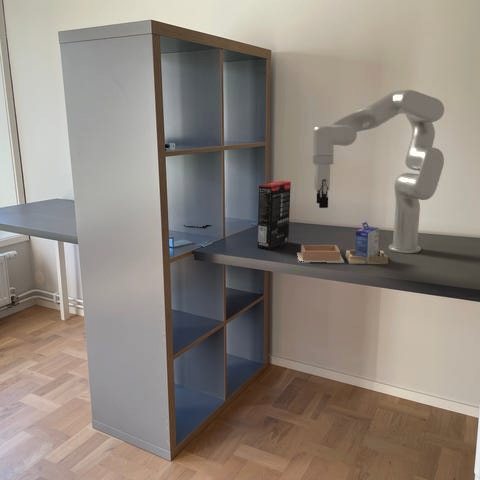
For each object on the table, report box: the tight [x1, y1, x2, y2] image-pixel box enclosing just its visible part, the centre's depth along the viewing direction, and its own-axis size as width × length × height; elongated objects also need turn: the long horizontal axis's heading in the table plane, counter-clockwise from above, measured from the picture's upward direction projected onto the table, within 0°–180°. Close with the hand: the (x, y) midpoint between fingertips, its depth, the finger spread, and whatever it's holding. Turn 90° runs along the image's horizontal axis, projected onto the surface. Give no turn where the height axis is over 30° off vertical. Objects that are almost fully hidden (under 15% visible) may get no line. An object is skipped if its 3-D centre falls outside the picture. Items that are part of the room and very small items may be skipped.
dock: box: [296, 244, 345, 264], centre depth 192 cm, size 12×17×4 cm
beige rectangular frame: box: [345, 249, 389, 265], centre depth 190 cm, size 10×14×3 cm
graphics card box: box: [256, 180, 292, 250], centre depth 211 cm, size 17×7×27 cm, turn 147°
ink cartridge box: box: [355, 221, 380, 265], centre depth 188 cm, size 10×6×14 cm, turn 142°
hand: (322, 205), depth 188 cm, fingers open, 9 cm apart
